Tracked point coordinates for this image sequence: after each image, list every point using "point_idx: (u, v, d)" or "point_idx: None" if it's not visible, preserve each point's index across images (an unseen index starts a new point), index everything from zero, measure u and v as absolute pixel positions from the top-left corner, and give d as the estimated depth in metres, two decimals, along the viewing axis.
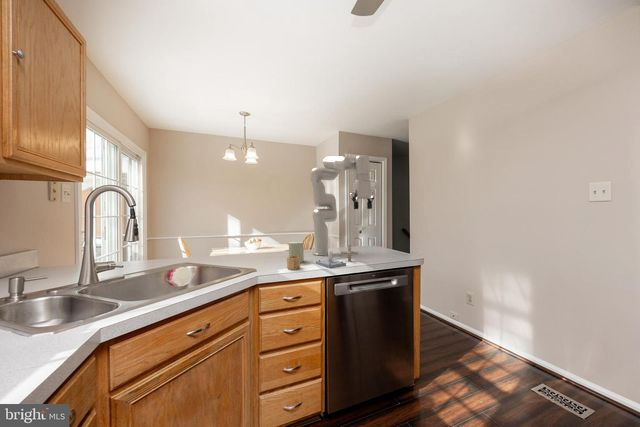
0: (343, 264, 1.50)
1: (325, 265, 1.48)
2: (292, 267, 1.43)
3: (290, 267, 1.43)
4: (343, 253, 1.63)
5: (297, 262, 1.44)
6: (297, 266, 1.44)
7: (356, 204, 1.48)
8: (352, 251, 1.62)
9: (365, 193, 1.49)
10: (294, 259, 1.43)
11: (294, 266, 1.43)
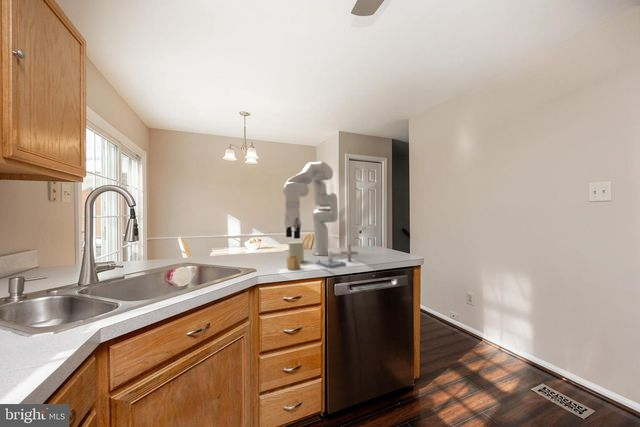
0: (343, 264, 1.50)
1: (325, 265, 1.48)
2: (292, 267, 1.43)
3: (290, 267, 1.43)
4: (343, 253, 1.63)
5: (297, 262, 1.44)
6: (297, 266, 1.44)
7: (298, 233, 1.41)
8: (352, 251, 1.62)
9: None
10: (294, 259, 1.43)
11: (294, 266, 1.43)
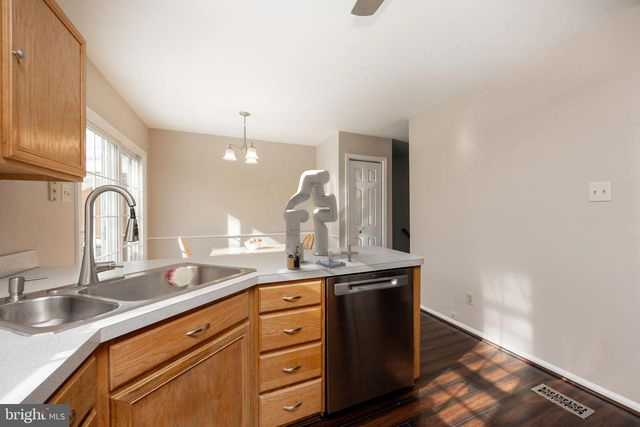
0: (343, 264, 1.50)
1: (325, 265, 1.48)
2: (292, 267, 1.43)
3: (290, 267, 1.43)
4: (343, 253, 1.63)
5: None
6: None
7: None
8: (352, 251, 1.62)
9: None
10: None
11: None
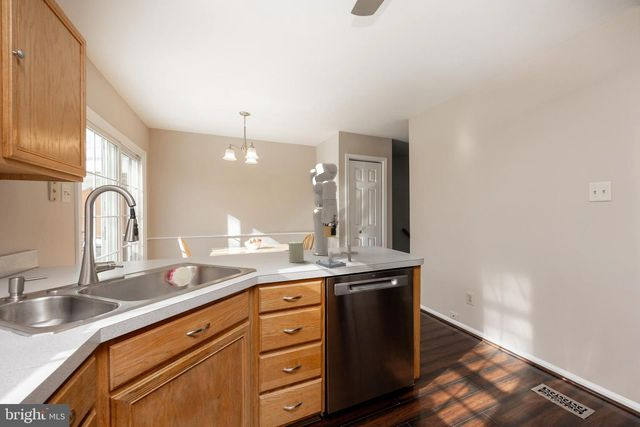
0: (343, 264, 1.50)
1: (325, 265, 1.48)
2: (329, 235, 1.50)
3: (327, 235, 1.50)
4: (343, 253, 1.63)
5: None
6: None
7: None
8: (352, 251, 1.62)
9: None
10: (331, 227, 1.50)
11: None
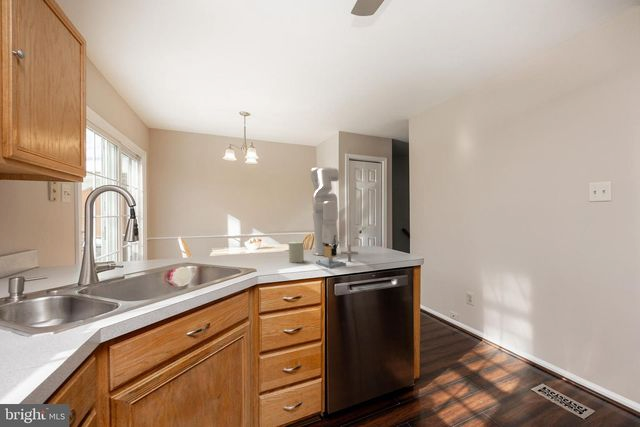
0: (343, 264, 1.50)
1: (325, 265, 1.48)
2: (329, 255, 1.50)
3: (328, 255, 1.50)
4: (343, 253, 1.63)
5: None
6: None
7: None
8: (352, 251, 1.62)
9: None
10: (331, 248, 1.50)
11: None
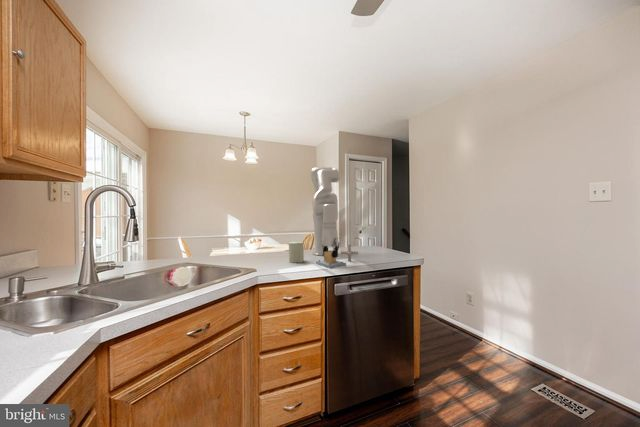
0: (343, 264, 1.50)
1: (325, 265, 1.48)
2: (329, 261, 1.50)
3: (327, 261, 1.51)
4: (343, 253, 1.63)
5: None
6: (334, 260, 1.51)
7: (336, 252, 1.49)
8: (352, 251, 1.62)
9: None
10: (331, 253, 1.50)
11: (331, 260, 1.50)
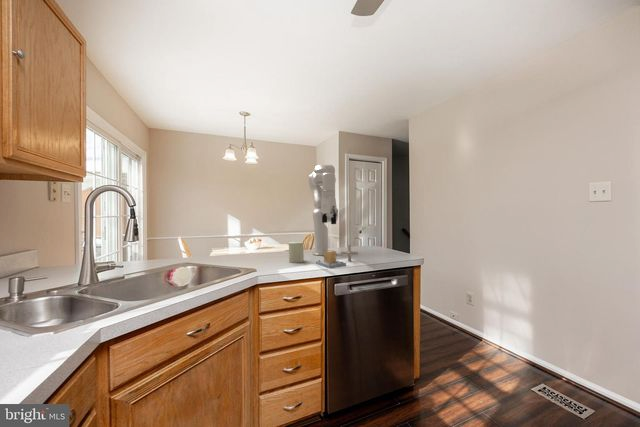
0: (343, 264, 1.50)
1: (325, 265, 1.48)
2: (329, 261, 1.50)
3: (327, 261, 1.51)
4: (343, 253, 1.63)
5: (334, 256, 1.51)
6: (334, 260, 1.51)
7: None
8: (352, 251, 1.62)
9: None
10: (331, 253, 1.50)
11: (331, 260, 1.50)
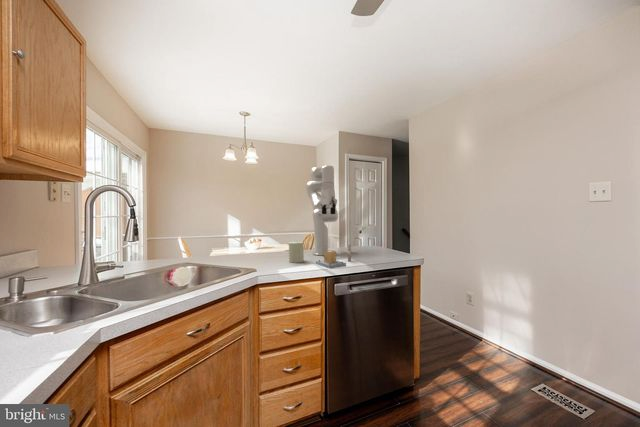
0: (343, 264, 1.50)
1: (325, 265, 1.48)
2: (329, 261, 1.50)
3: (327, 261, 1.51)
4: (343, 253, 1.63)
5: (334, 256, 1.51)
6: (334, 260, 1.51)
7: None
8: (352, 251, 1.62)
9: None
10: (331, 253, 1.50)
11: (331, 260, 1.50)
